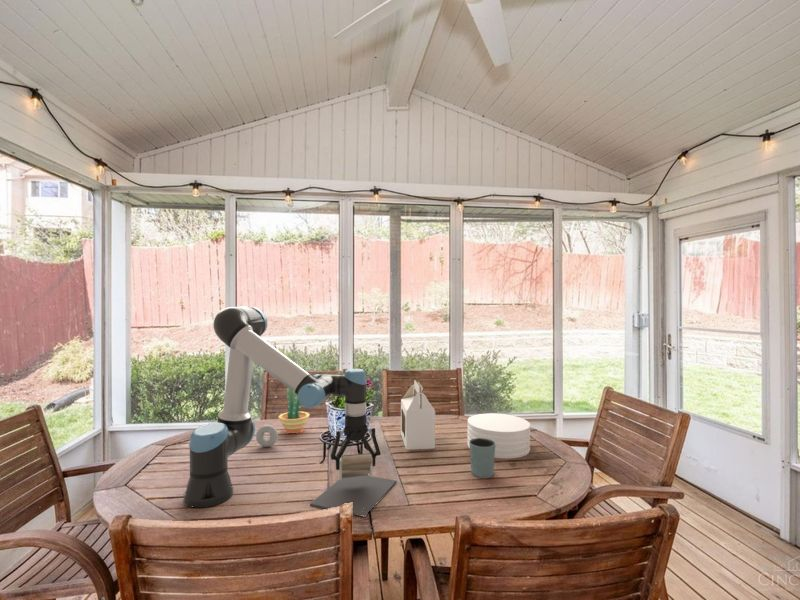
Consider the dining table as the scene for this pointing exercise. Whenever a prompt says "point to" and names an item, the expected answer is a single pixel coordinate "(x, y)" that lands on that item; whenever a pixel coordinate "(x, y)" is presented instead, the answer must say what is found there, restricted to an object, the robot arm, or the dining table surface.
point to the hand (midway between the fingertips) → (355, 476)
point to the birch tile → (356, 465)
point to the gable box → (417, 419)
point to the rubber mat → (355, 493)
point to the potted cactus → (293, 414)
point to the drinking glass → (482, 457)
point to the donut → (267, 442)
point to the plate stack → (501, 433)
